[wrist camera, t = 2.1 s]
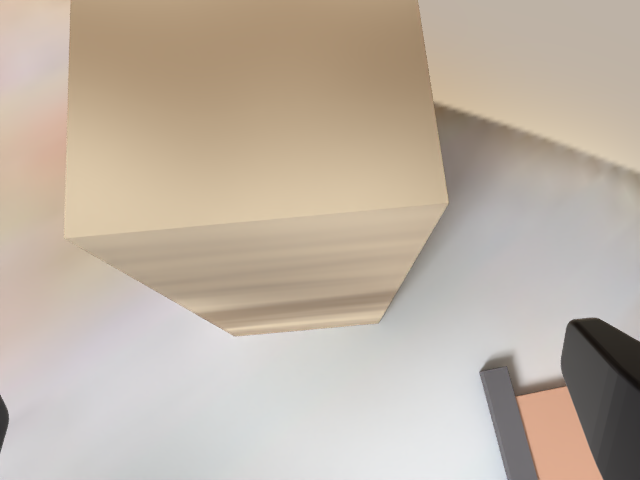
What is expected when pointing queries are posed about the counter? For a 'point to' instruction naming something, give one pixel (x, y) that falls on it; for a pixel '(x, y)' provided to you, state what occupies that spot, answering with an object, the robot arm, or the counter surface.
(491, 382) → the mat
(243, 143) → the beech block
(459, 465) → the counter surface
